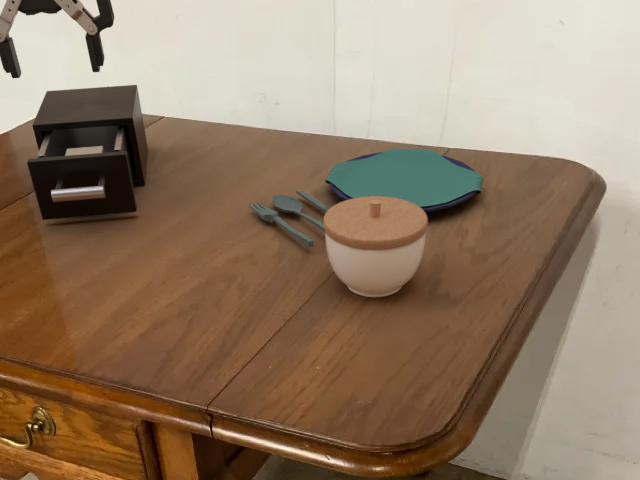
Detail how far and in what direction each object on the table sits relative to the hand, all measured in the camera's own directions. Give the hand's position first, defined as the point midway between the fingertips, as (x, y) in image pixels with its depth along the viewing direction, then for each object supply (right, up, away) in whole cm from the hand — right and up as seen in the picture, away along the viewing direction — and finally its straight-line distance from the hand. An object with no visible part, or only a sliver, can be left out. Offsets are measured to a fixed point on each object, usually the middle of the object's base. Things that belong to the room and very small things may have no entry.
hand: (57, 73), depth 85 cm
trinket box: (+35, -23, -1) cm, 42 cm away
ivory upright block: (-1, -8, +16) cm, 18 cm away
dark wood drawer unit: (-3, -2, +27) cm, 27 cm away
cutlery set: (+35, -10, +16) cm, 40 cm away
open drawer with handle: (-1, -10, +16) cm, 19 cm away
